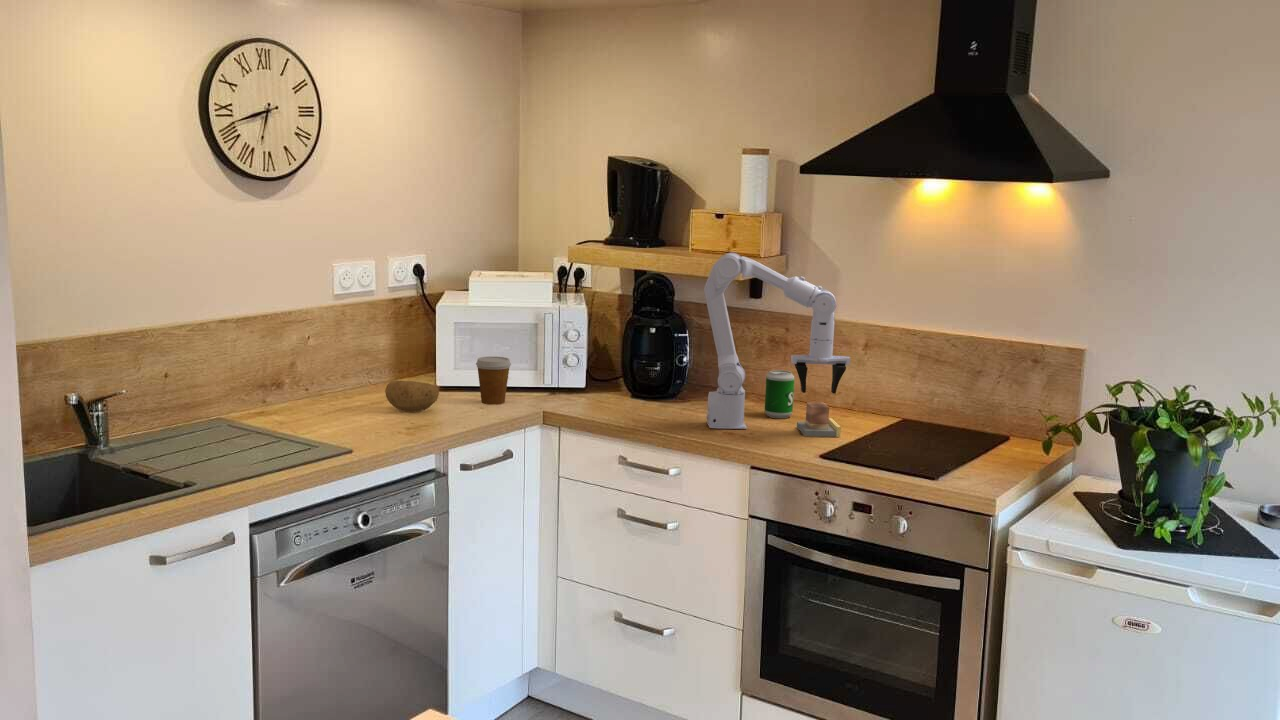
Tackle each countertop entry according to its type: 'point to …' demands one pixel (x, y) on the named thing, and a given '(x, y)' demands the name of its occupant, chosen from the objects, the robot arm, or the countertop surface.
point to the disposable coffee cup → (493, 378)
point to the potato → (411, 395)
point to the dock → (820, 430)
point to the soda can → (779, 394)
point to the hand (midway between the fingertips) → (818, 392)
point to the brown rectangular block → (817, 415)
